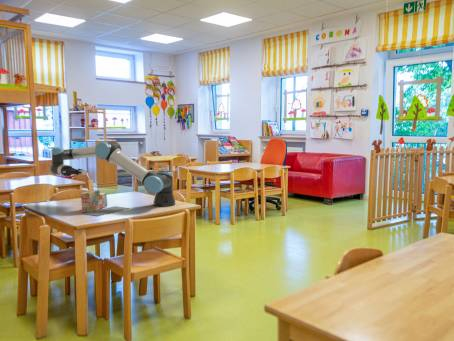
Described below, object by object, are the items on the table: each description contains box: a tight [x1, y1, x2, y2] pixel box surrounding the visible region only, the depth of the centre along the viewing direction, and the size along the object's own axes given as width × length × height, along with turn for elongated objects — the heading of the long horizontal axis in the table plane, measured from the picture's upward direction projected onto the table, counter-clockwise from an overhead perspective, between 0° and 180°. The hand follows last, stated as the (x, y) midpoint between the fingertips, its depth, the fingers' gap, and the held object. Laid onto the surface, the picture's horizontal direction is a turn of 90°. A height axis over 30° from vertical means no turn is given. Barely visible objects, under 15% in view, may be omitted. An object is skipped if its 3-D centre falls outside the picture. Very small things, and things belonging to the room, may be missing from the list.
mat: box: [82, 205, 130, 217], centre depth 266 cm, size 13×28×1 cm, turn 150°
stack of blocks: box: [80, 189, 108, 213], centre depth 271 cm, size 21×6×12 cm, turn 168°
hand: (85, 172), depth 275 cm, fingers closed
